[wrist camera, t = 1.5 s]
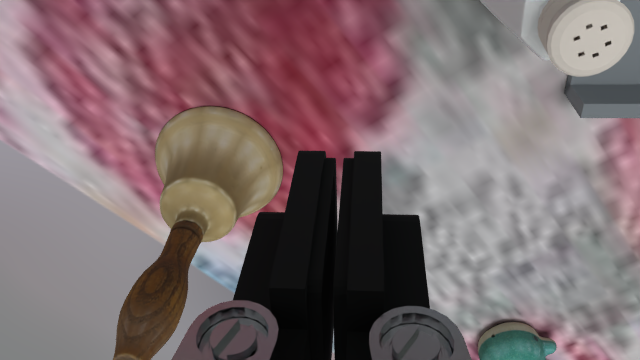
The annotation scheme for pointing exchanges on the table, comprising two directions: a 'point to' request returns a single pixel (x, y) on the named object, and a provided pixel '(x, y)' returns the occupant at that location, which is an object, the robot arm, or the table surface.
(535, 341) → the whale figurine
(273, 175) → the hand bell
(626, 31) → the pepper shaker
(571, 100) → the tray
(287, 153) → the table surface
